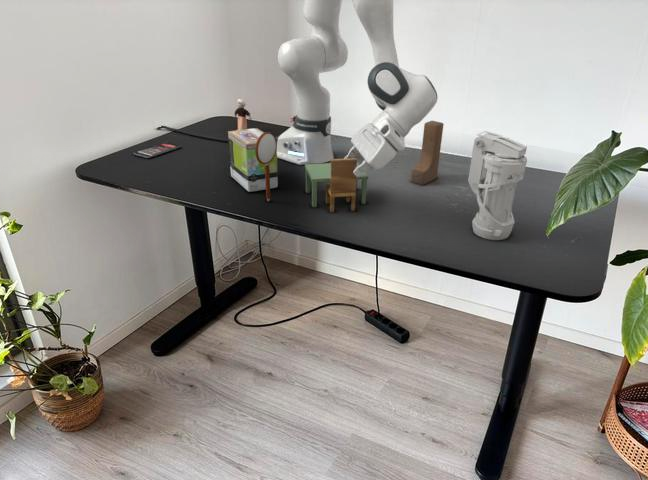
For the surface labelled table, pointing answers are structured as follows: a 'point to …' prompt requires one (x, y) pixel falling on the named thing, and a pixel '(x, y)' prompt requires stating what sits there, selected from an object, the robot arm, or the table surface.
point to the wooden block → (429, 154)
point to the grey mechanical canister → (495, 183)
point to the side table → (328, 179)
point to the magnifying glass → (266, 155)
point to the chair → (342, 182)
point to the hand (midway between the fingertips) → (350, 167)
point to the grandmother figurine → (242, 115)
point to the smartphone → (156, 150)
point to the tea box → (249, 161)
